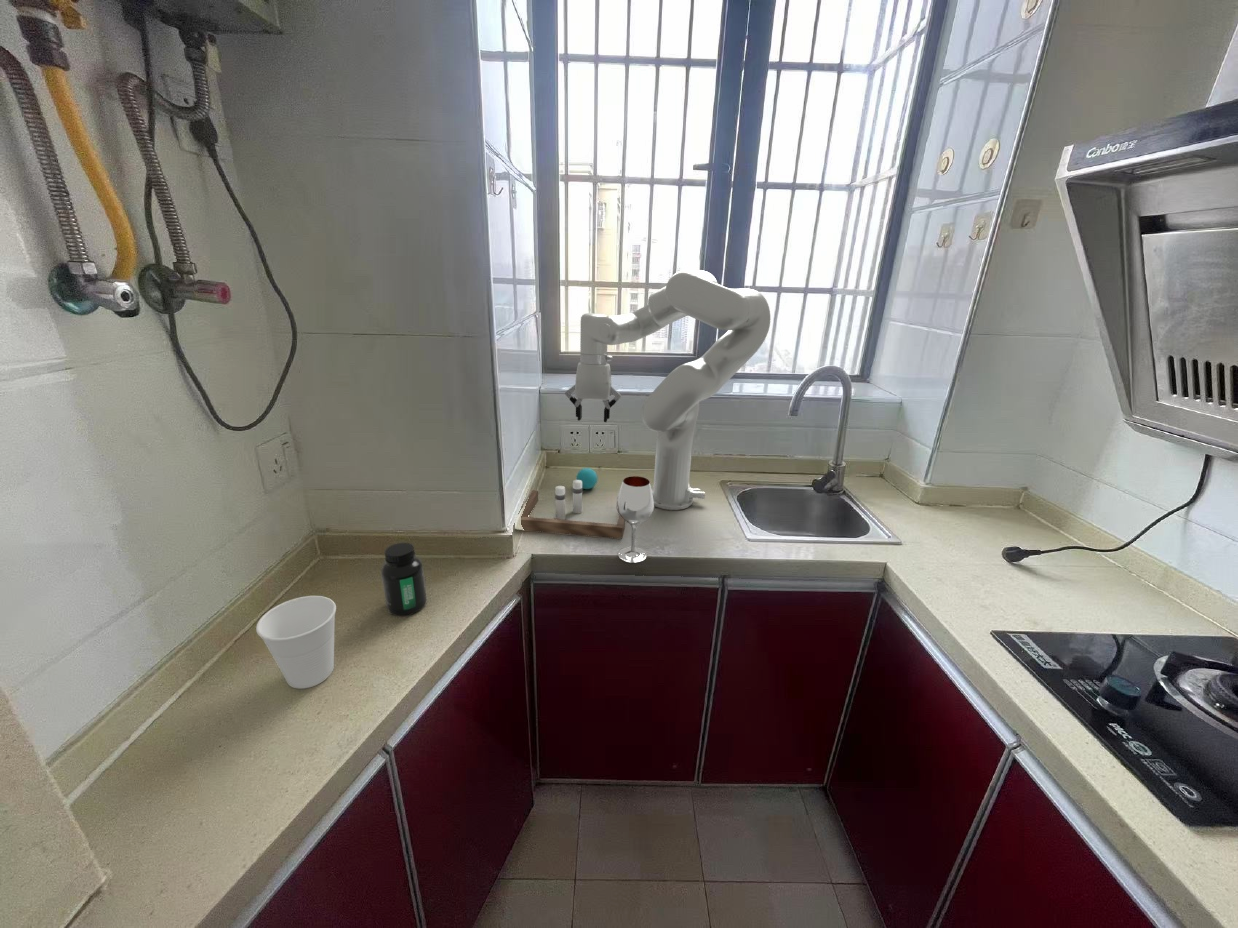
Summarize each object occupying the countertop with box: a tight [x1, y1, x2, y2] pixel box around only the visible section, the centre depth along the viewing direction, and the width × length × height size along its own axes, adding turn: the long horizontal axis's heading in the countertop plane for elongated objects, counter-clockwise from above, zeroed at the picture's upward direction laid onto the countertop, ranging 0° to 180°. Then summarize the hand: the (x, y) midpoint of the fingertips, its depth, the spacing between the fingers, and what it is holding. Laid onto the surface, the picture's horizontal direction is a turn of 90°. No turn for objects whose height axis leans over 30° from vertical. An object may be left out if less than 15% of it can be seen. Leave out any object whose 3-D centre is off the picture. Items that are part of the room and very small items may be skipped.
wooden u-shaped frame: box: [521, 489, 627, 540], centre depth 126 cm, size 26×17×3 cm, turn 84°
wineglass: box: [615, 475, 655, 564], centre depth 108 cm, size 8×8×18 cm
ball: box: [575, 467, 598, 490], centre depth 143 cm, size 6×6×6 cm
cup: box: [255, 595, 337, 690], centre depth 74 cm, size 10×10×11 cm
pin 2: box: [572, 479, 583, 514], centre depth 129 cm, size 2×2×8 cm
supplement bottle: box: [380, 542, 427, 617], centre depth 90 cm, size 7×7×12 cm
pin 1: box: [554, 485, 566, 520], centre depth 125 cm, size 2×2×8 cm
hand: (592, 419), depth 147 cm, fingers open, 7 cm apart
